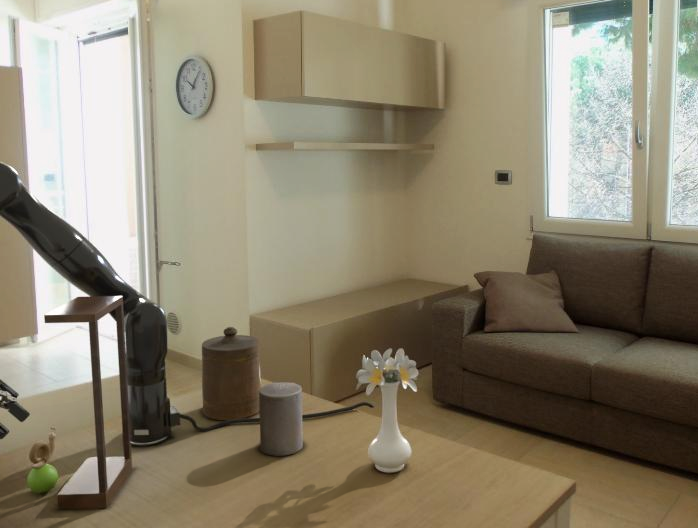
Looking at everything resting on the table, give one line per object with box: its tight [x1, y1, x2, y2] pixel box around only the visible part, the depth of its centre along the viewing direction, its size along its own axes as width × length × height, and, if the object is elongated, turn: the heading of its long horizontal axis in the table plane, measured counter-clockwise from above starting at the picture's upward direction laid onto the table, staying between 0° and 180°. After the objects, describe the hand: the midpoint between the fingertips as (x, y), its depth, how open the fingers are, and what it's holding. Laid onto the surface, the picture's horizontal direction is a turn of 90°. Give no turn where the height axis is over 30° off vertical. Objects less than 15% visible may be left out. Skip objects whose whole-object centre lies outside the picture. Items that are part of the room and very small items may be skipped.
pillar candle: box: [258, 381, 304, 457], centre depth 155 cm, size 10×10×15 cm
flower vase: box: [355, 348, 420, 474], centre depth 145 cm, size 13×18×25 cm
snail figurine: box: [27, 426, 59, 494], centre depth 136 cm, size 5×6×12 cm
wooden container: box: [201, 326, 262, 421], centre depth 177 cm, size 15×15×22 cm
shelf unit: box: [43, 296, 133, 511], centre depth 135 cm, size 9×16×38 cm, turn 3°
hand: (16, 426), depth 135 cm, fingers open, 8 cm apart
